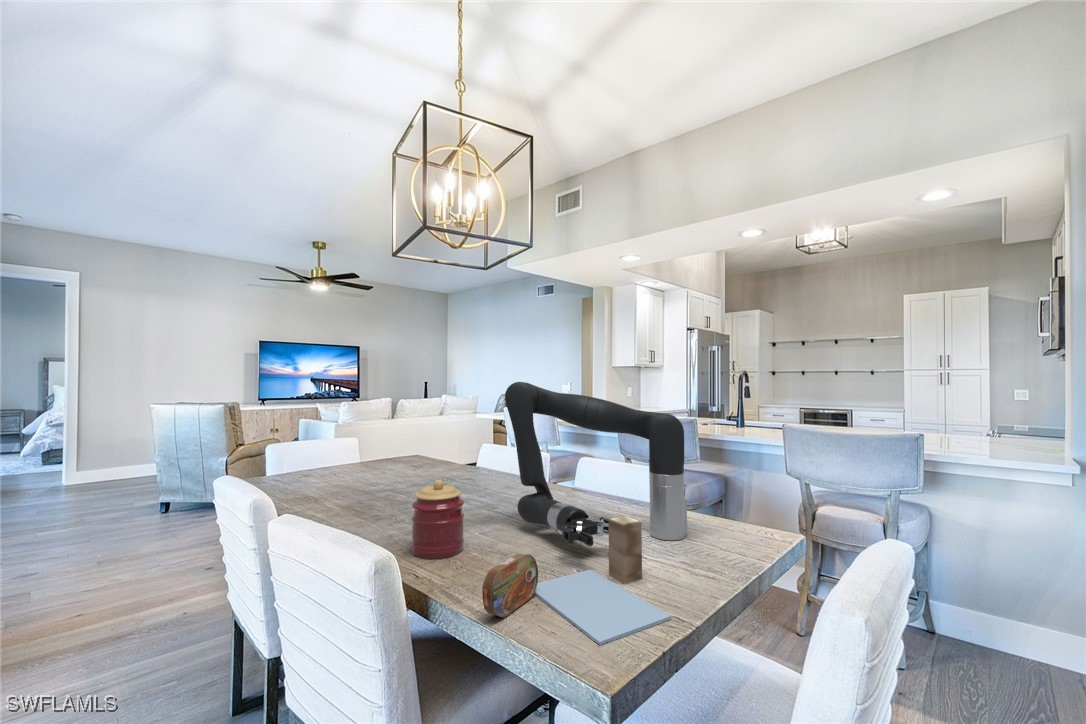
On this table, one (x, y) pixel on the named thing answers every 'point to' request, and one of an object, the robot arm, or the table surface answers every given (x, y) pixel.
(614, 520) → the walnut block
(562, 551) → the table surface
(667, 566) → the table surface
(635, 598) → the mat
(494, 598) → the tin
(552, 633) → the table surface
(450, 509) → the canister
